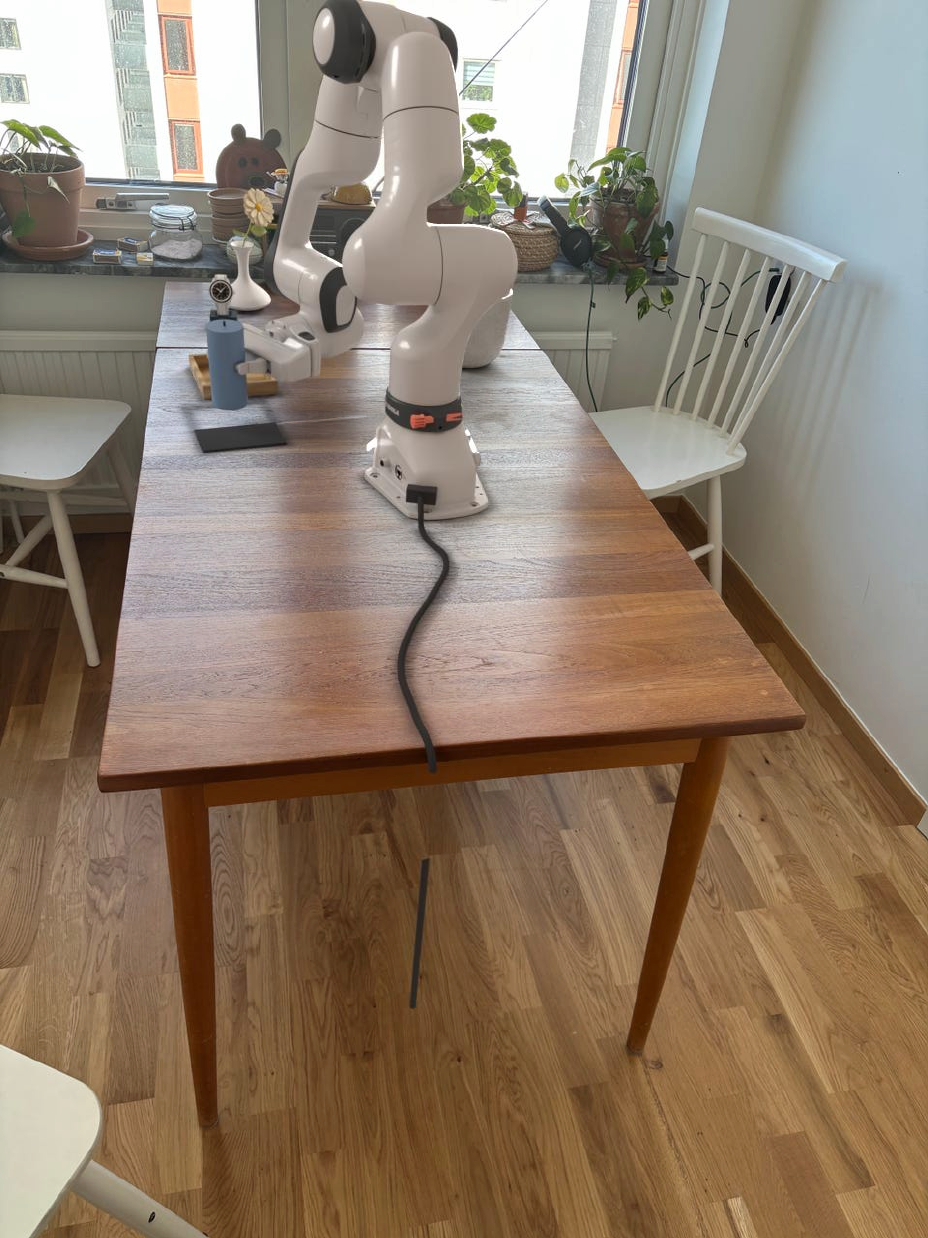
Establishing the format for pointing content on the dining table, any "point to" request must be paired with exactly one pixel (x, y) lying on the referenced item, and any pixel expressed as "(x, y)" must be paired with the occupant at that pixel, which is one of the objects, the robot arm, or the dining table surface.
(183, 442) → the dining table surface
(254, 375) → the wooden tray
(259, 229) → the flower in vase
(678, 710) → the dining table surface
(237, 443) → the placemat
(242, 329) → the candle
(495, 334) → the planter
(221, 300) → the watch
